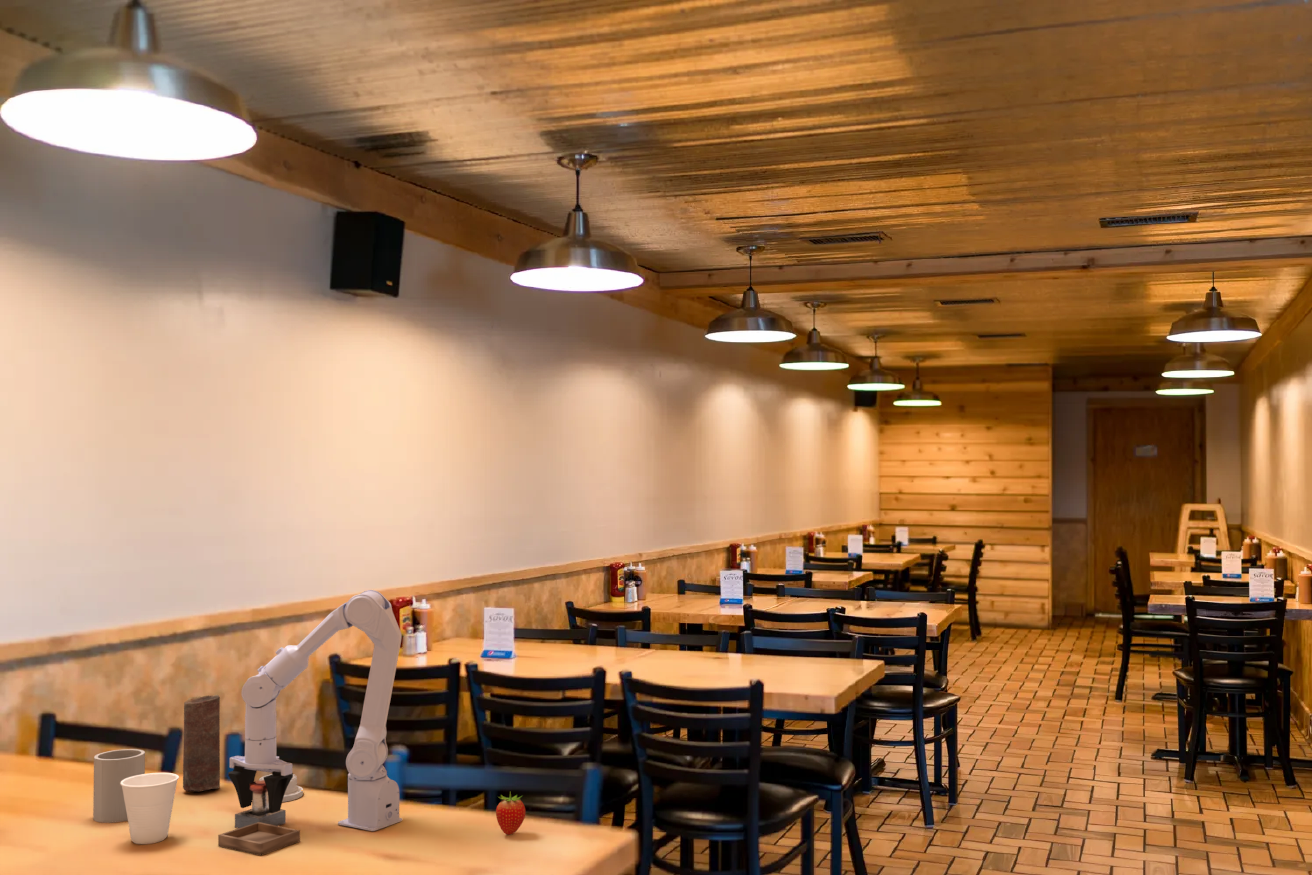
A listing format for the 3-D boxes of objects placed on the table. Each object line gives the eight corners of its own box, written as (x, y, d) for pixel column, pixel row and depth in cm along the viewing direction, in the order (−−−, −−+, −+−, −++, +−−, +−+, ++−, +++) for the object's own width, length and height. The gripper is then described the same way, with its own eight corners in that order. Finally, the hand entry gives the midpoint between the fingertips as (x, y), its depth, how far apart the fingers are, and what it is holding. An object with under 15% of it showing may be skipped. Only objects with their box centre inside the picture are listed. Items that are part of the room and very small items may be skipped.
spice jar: (275, 823, 220) (276, 781, 220) (259, 829, 216) (259, 786, 217) (261, 821, 222) (261, 779, 222) (244, 826, 218) (244, 784, 219)
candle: (211, 795, 240) (211, 699, 241) (176, 796, 241) (177, 699, 241) (225, 786, 248) (225, 693, 249) (191, 786, 248) (192, 693, 249)
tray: (299, 841, 209) (299, 830, 209) (260, 855, 201) (260, 843, 201) (258, 832, 214) (258, 821, 215) (218, 846, 207) (218, 834, 207)
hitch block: (285, 823, 220) (285, 809, 220) (258, 832, 215) (258, 818, 215) (262, 818, 224) (262, 805, 224) (234, 827, 218) (234, 813, 218)
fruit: (513, 828, 215) (513, 785, 216) (530, 834, 212) (530, 791, 212) (490, 835, 212) (490, 791, 212) (507, 841, 208) (507, 796, 208)
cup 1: (82, 819, 224) (83, 757, 224) (120, 807, 232) (120, 747, 233) (117, 824, 221) (118, 761, 221) (154, 811, 229) (155, 751, 230)
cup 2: (121, 851, 204) (121, 788, 205) (118, 836, 213) (119, 776, 213) (181, 842, 209) (181, 781, 209) (176, 828, 218) (176, 769, 218)
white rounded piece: (245, 804, 235) (293, 804, 234) (245, 782, 235) (293, 782, 234) (263, 791, 244) (309, 791, 244) (263, 770, 245) (309, 770, 244)
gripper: (304, 736, 220) (304, 808, 220) (249, 729, 227) (249, 799, 226) (276, 744, 214) (276, 817, 213) (221, 736, 220) (220, 808, 220)
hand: (260, 809), depth 219 cm, fingers open, 7 cm apart
